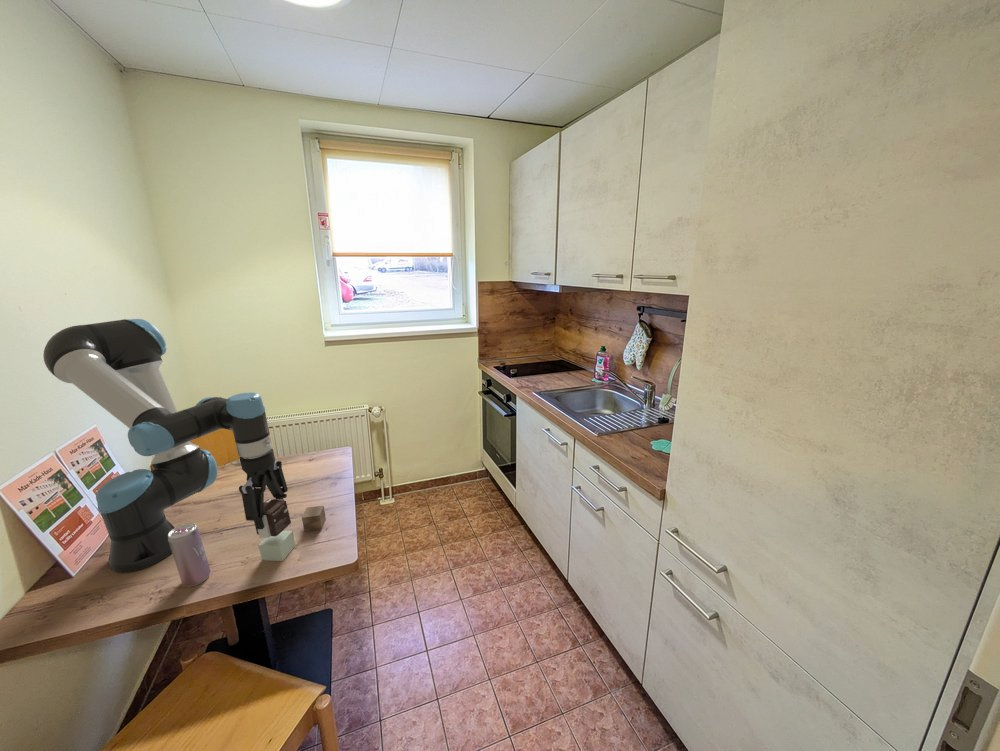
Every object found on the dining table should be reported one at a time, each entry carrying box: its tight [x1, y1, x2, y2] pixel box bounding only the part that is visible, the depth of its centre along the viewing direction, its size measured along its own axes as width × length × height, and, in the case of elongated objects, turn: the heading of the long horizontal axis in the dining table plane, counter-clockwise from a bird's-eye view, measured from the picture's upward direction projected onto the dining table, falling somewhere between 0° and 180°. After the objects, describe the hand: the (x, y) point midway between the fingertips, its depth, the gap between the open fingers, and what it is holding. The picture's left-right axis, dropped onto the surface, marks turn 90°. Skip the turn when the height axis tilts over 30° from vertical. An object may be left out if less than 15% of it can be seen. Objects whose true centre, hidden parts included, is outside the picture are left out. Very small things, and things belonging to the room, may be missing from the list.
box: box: [253, 498, 292, 536], centre depth 106 cm, size 6×6×7 cm
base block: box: [258, 530, 296, 562], centre depth 108 cm, size 6×6×5 cm
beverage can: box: [168, 522, 211, 588], centre depth 98 cm, size 6×6×15 cm
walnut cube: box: [301, 505, 327, 532], centre depth 119 cm, size 5×5×5 cm
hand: (273, 527), depth 107 cm, fingers closed on box, 6 cm apart
